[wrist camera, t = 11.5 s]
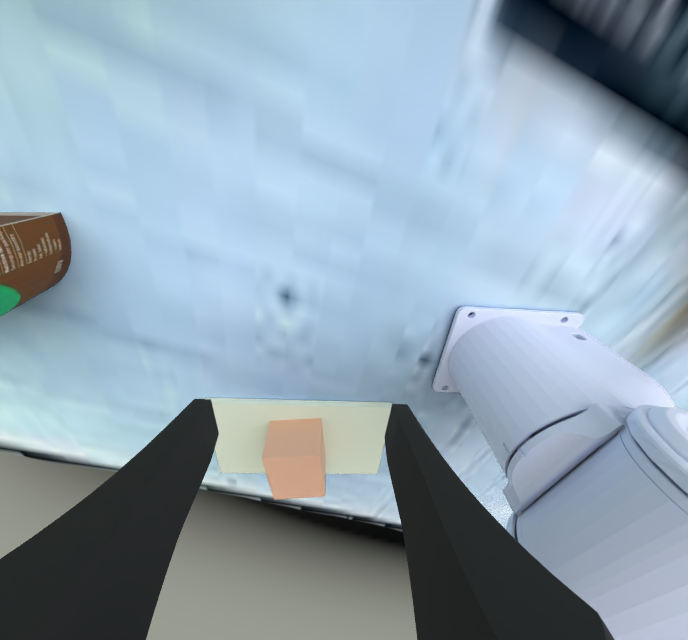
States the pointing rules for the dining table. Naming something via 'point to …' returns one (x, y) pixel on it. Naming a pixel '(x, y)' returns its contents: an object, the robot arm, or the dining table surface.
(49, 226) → the food container
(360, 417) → the mat
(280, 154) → the dining table surface
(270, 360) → the dining table surface
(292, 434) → the light orange block
